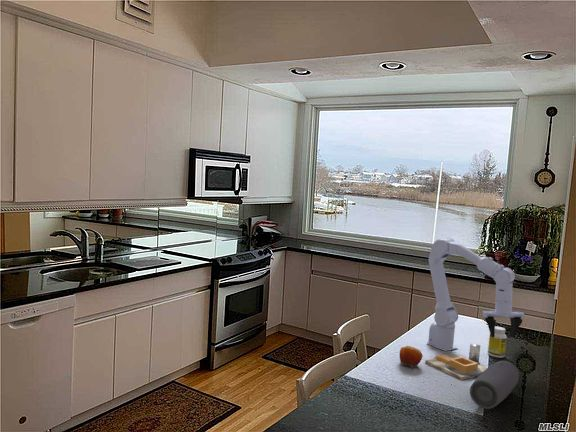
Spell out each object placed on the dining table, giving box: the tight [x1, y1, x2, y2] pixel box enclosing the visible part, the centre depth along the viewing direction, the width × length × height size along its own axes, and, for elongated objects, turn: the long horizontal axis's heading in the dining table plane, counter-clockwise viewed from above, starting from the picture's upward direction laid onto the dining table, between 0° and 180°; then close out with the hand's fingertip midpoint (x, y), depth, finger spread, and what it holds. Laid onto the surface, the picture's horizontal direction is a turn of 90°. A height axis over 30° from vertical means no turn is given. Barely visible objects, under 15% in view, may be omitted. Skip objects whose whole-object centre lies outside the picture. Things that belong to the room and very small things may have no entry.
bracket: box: [435, 353, 479, 373], centre depth 172 cm, size 14×7×3 cm, turn 33°
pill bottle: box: [487, 325, 507, 359], centre depth 187 cm, size 6×6×11 cm
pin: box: [468, 343, 481, 363], centre depth 180 cm, size 4×4×6 cm
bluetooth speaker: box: [469, 360, 520, 410], centre depth 147 cm, size 23×9×10 cm, turn 141°
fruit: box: [399, 345, 424, 370], centre depth 171 cm, size 8×8×8 cm
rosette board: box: [424, 353, 488, 381], centre depth 172 cm, size 17×16×1 cm
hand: (502, 336), depth 178 cm, fingers open, 7 cm apart
